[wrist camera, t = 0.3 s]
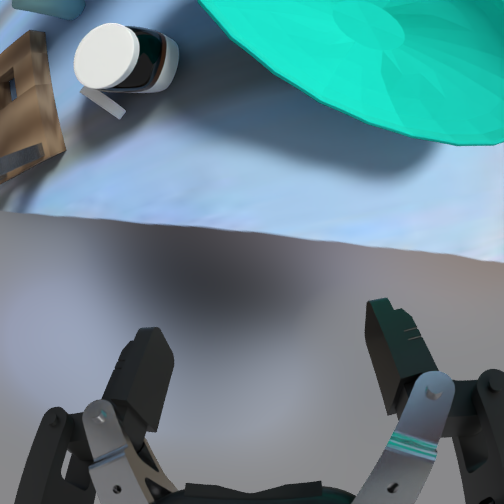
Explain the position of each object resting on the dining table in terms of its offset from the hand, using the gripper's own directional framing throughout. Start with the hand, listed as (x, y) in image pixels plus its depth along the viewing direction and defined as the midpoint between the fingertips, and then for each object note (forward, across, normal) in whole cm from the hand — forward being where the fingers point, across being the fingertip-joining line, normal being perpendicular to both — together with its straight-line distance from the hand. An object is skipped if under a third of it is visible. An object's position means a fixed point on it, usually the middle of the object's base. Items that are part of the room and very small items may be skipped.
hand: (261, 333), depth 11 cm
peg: (+29, +21, -31) cm, 48 cm away
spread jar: (+29, +13, -15) cm, 35 cm away
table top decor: (+29, -17, -17) cm, 38 cm away
